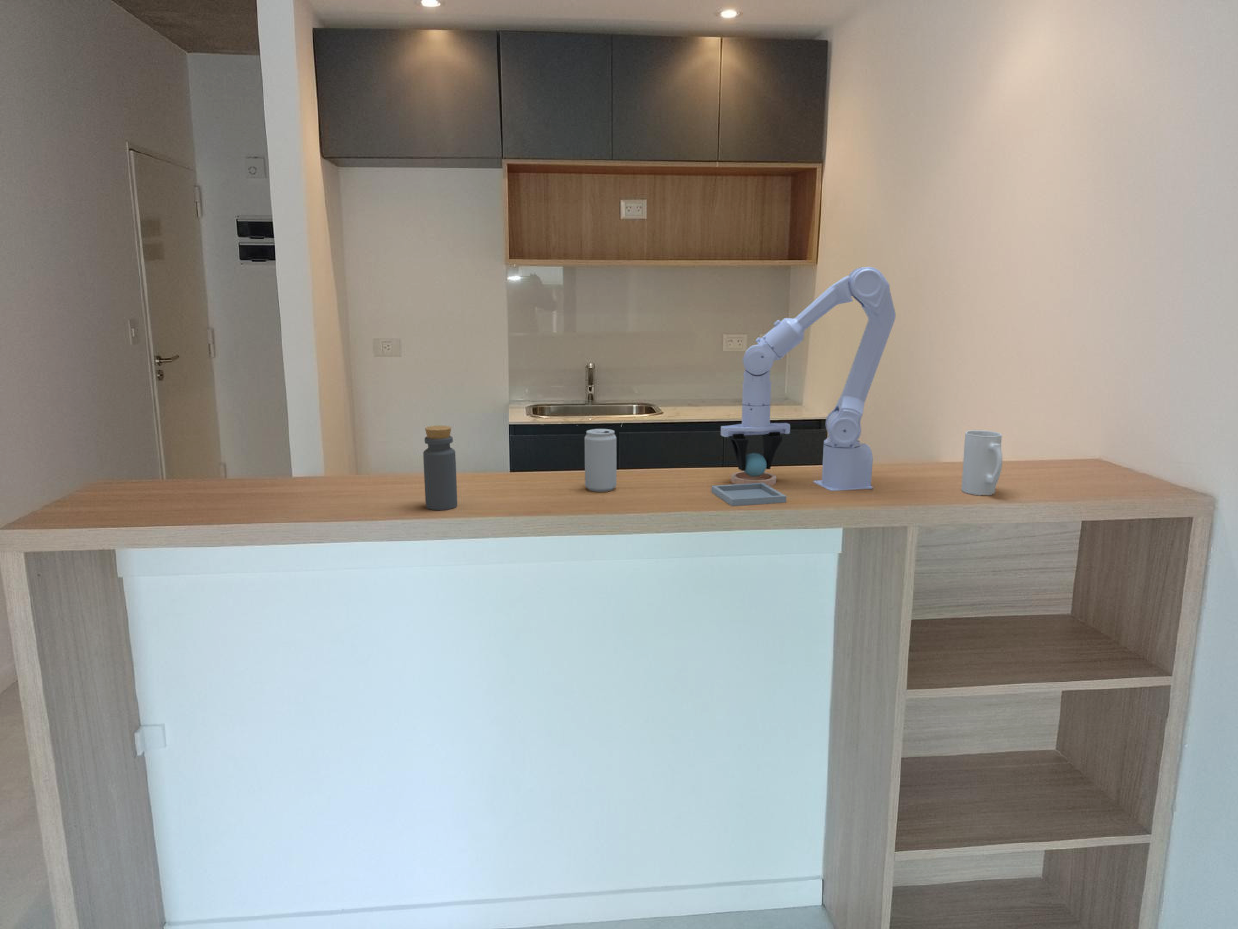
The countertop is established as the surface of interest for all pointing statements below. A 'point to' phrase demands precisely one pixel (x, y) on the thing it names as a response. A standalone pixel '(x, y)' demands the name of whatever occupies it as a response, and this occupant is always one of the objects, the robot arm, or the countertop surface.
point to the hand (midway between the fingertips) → (754, 469)
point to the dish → (753, 478)
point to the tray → (748, 494)
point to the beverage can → (600, 460)
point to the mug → (981, 462)
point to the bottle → (439, 469)
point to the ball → (755, 465)
